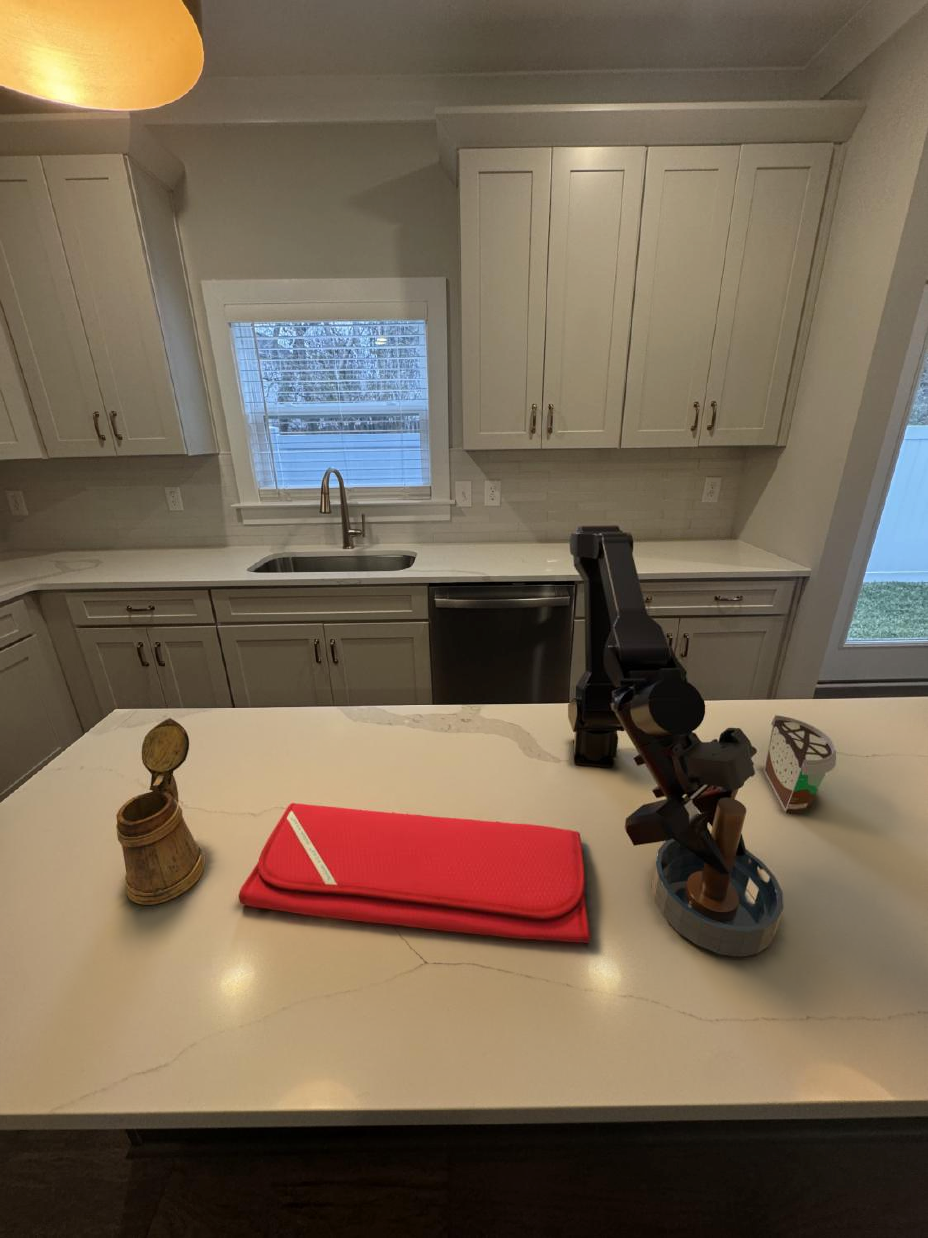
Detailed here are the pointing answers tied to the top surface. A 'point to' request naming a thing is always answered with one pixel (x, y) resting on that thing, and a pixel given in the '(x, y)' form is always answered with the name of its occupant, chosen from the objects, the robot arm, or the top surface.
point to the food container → (797, 762)
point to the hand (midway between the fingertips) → (734, 864)
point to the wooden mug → (159, 825)
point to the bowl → (723, 937)
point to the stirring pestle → (708, 886)
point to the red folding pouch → (424, 873)
